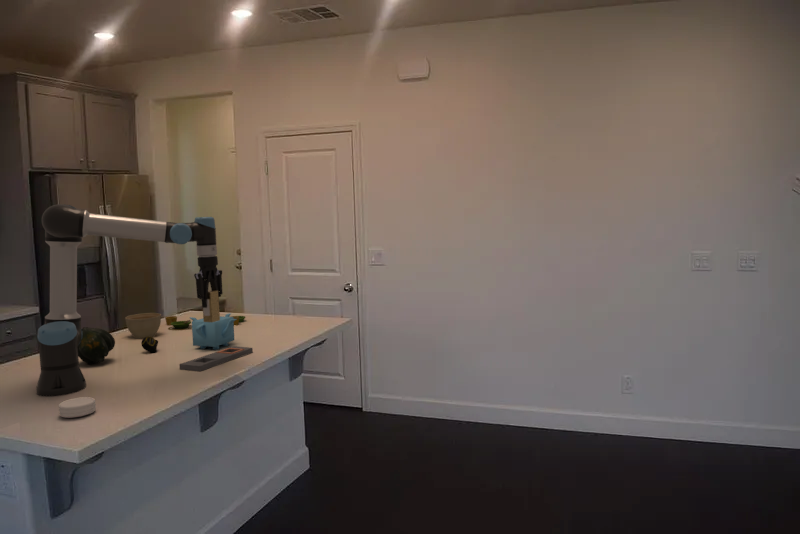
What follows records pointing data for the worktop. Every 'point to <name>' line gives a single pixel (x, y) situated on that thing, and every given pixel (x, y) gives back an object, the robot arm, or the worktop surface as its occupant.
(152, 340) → the tape measure
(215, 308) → the wooden peg
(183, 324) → the tableware set
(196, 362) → the dark grey flat board
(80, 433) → the worktop surface
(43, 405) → the worktop surface
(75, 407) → the white round disc
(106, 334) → the squash
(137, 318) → the planter bowl
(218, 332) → the teakettle
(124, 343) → the worktop surface
